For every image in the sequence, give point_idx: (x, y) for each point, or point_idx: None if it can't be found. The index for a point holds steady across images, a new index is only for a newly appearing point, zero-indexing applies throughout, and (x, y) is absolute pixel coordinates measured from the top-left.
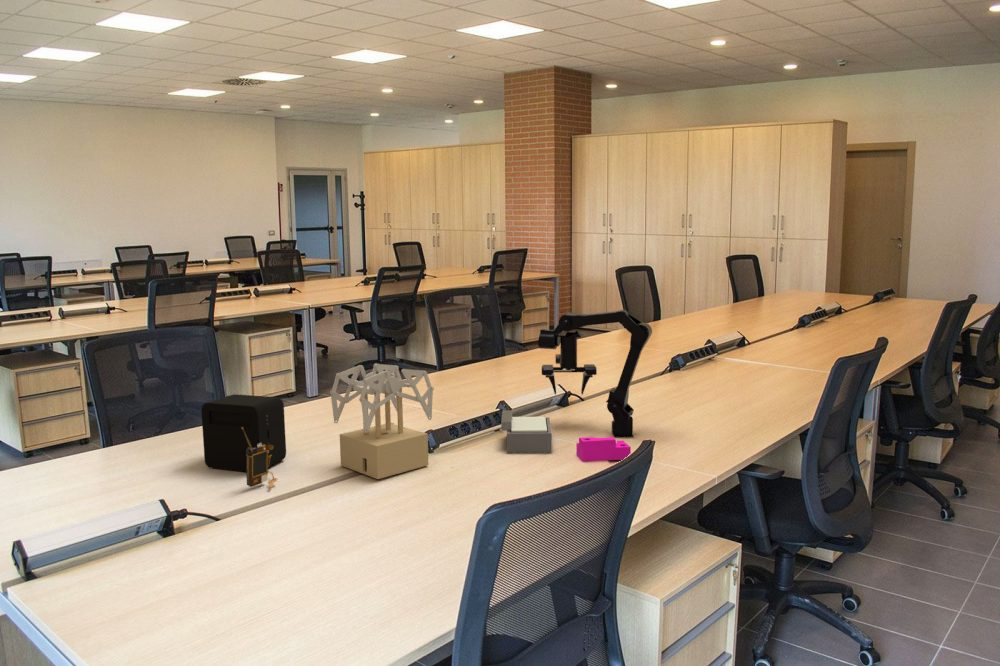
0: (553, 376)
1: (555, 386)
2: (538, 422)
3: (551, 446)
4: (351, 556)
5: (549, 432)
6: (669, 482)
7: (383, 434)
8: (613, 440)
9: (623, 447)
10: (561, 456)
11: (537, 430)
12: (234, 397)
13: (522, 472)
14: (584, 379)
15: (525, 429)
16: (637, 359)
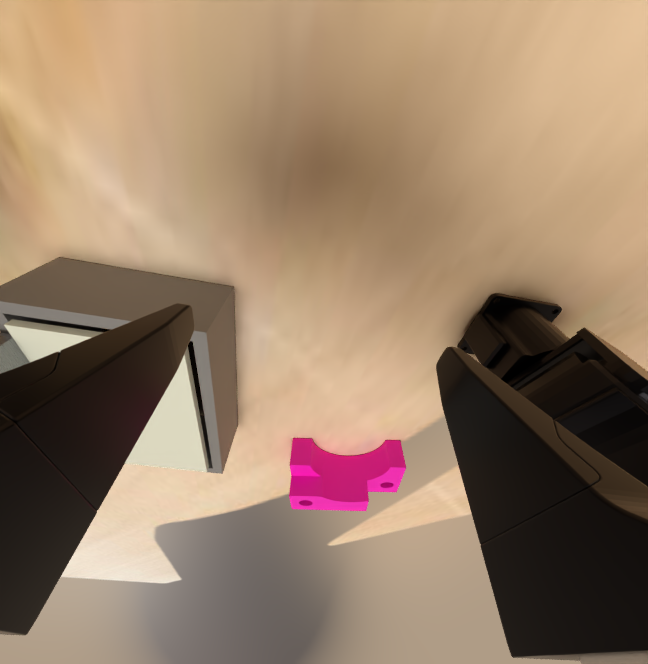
0: (19, 629)
1: (146, 423)
2: (166, 414)
3: (232, 439)
4: (84, 553)
5: (216, 468)
6: (391, 519)
7: None
8: (360, 509)
9: (380, 491)
10: (258, 440)
11: (178, 468)
12: None
13: (186, 479)
14: (498, 578)
15: (139, 459)
16: None
